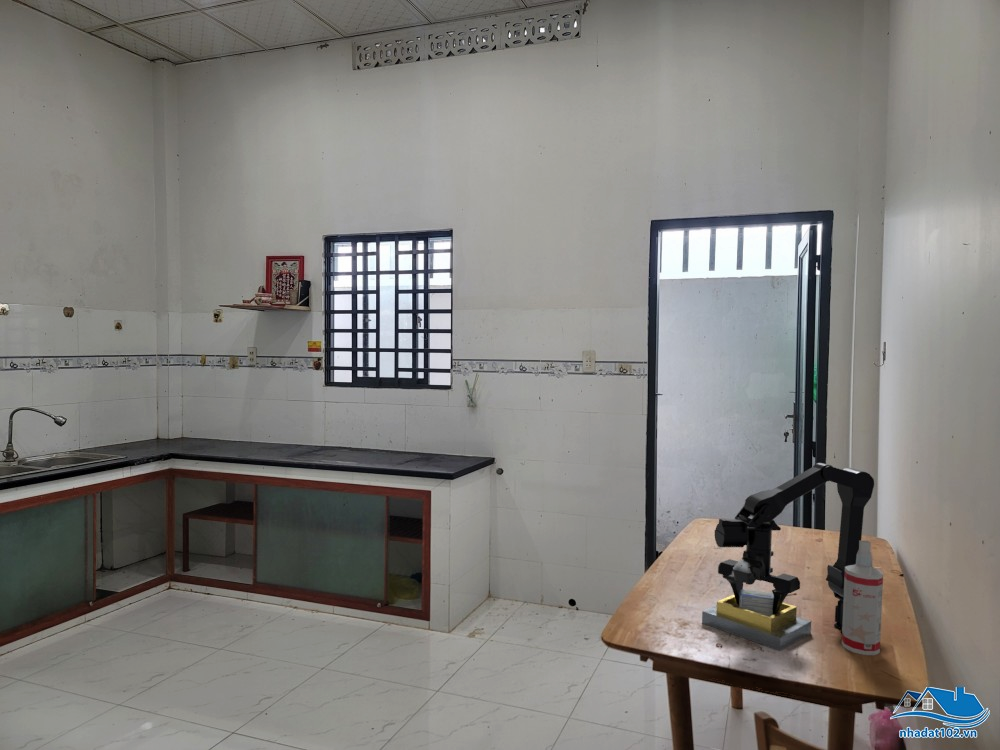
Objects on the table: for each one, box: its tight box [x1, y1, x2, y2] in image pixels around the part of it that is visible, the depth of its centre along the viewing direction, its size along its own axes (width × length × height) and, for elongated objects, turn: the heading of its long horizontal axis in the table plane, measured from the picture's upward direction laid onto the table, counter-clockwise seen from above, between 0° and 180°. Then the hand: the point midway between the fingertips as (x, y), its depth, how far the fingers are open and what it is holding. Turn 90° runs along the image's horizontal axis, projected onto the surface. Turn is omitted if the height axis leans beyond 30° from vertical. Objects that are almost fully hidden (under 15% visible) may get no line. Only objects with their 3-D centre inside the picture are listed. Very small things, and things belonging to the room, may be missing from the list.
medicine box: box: [739, 589, 774, 617], centre depth 164 cm, size 8×4×9 cm, turn 75°
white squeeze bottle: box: [841, 540, 884, 656], centre depth 154 cm, size 8×8×25 cm
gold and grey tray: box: [701, 594, 812, 652], centre depth 164 cm, size 20×16×6 cm
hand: (756, 609), depth 164 cm, fingers open, 9 cm apart
